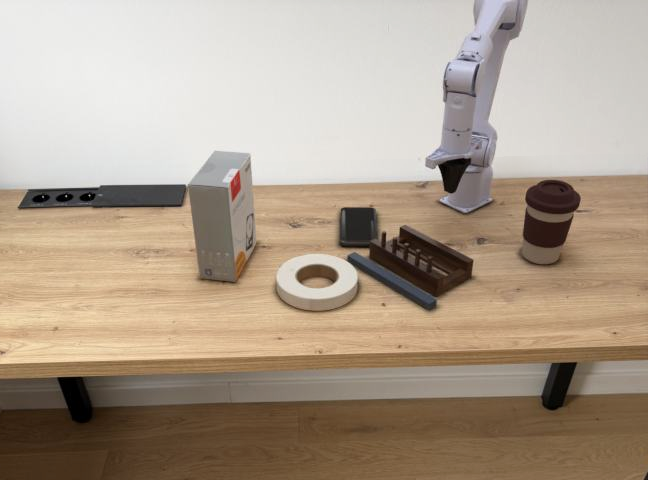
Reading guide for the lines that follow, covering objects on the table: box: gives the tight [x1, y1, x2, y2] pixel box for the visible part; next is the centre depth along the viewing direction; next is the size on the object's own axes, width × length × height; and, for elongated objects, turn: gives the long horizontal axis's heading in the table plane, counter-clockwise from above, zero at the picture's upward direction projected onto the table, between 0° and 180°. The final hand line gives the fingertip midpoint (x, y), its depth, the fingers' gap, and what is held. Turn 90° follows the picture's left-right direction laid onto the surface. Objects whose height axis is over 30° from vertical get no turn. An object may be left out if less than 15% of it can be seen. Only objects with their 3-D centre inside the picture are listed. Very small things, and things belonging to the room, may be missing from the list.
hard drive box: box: [187, 150, 258, 283], centre depth 131 cm, size 16×8×20 cm, turn 168°
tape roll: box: [275, 253, 359, 312], centre depth 129 cm, size 16×15×3 cm
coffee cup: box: [521, 179, 581, 265], centre depth 133 cm, size 10×10×15 cm
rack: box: [368, 224, 474, 298], centre depth 132 cm, size 10×18×7 cm, turn 40°
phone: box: [339, 206, 379, 248], centre depth 146 cm, size 8×1×15 cm
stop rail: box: [346, 251, 438, 311], centre depth 130 cm, size 2×22×2 cm, turn 40°
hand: (449, 191), depth 139 cm, fingers closed
